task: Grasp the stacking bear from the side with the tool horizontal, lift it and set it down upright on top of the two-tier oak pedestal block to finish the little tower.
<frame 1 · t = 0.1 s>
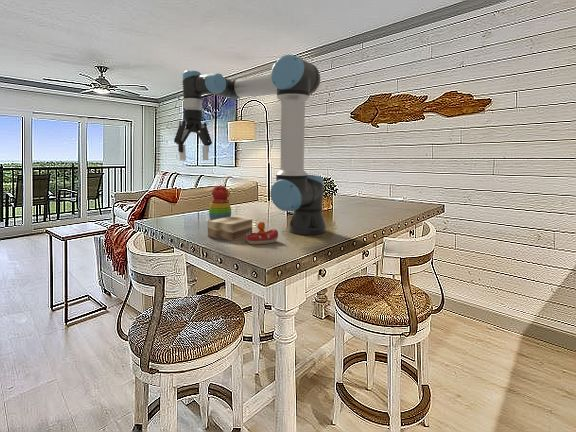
hand: (194, 160, 157), 28 cm above the table, tool pointing down, fingers open, 13 cm apart
pedestal: (230, 235, 139), on the table
stacking bear: (221, 227, 155), on the table
toy boat: (262, 243, 129), on the table
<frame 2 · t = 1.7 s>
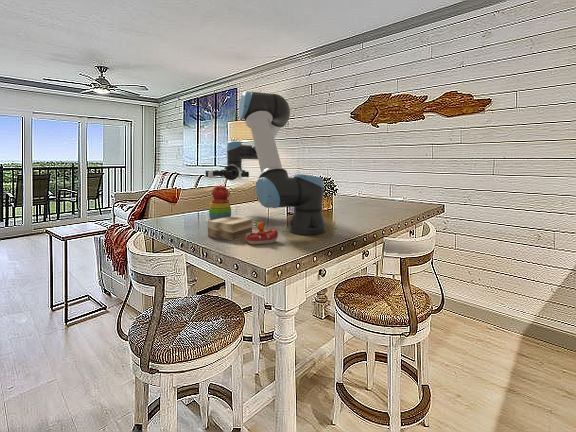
hand: (224, 175, 161), 22 cm above the table, tool horizontal, fingers open, 13 cm apart
nothing on the table moved.
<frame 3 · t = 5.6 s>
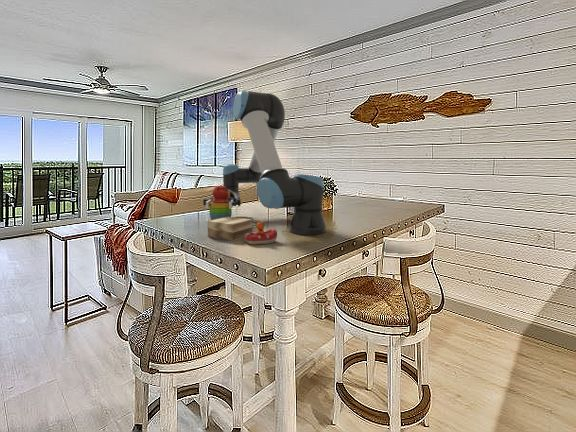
hand: (218, 205, 149), 10 cm above the table, tool horizontal, fingers closed on stacking bear, 9 cm apart
stacking bear: (221, 227, 155), on the table, touching gripper
everything else where it was.
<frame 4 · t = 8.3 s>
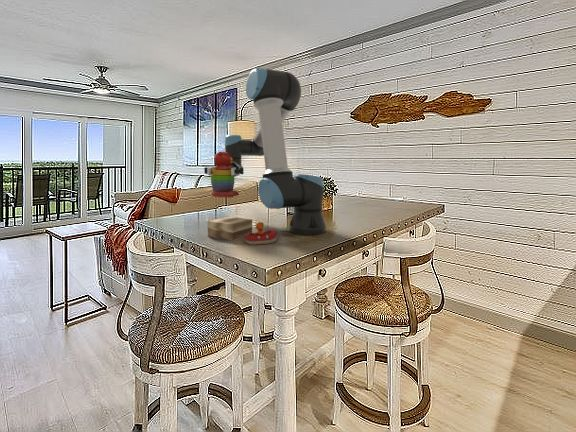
hand: (220, 171, 140), 24 cm above the table, tool horizontal, fingers closed on stacking bear, 9 cm apart
stacking bear: (223, 196, 146), point 14 cm above the table, touching gripper
everything else where it was.
when the fingers open (17 cm above the table, at t = 10.9 s): stacking bear drops 1 cm, resting on pedestal.
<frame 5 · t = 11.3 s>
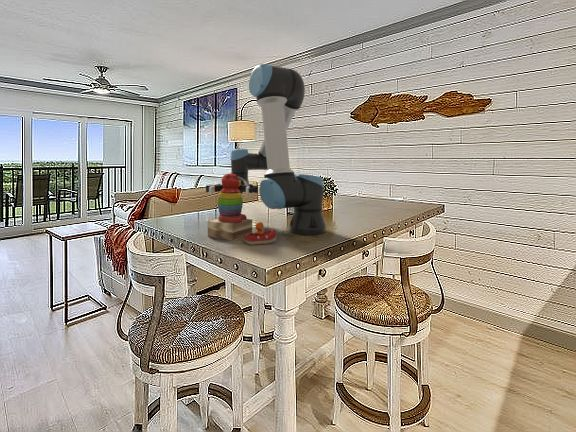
hand: (228, 191, 133), 17 cm above the table, tool horizontal, fingers open, 13 cm apart
stacking bear: (231, 220, 138), point 6 cm above the table, touching pedestal
everything else where it was.
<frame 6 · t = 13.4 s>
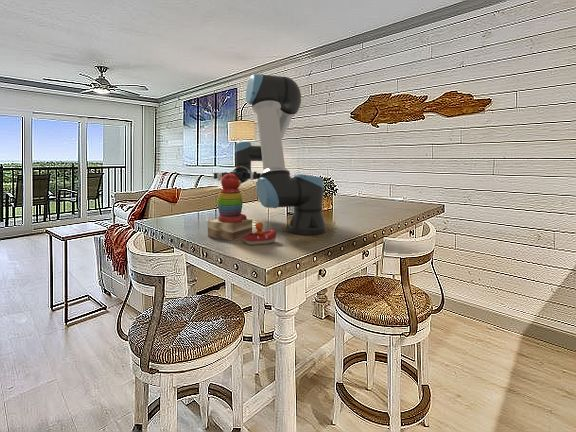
hand: (234, 176, 148), 22 cm above the table, tool horizontal, fingers open, 13 cm apart
nothing on the table moved.
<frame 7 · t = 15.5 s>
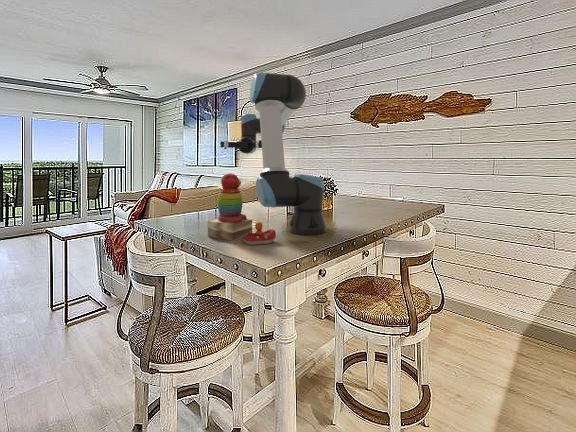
hand: (240, 144, 154), 35 cm above the table, tool horizontal, fingers open, 13 cm apart
nothing on the table moved.
at the end: stacking bear inside the target area on the pedestal (0.4 cm from its centre), point 5.8 cm above the pedestal's base; stacking bear tilted 0°; the gripper is holding nothing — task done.
